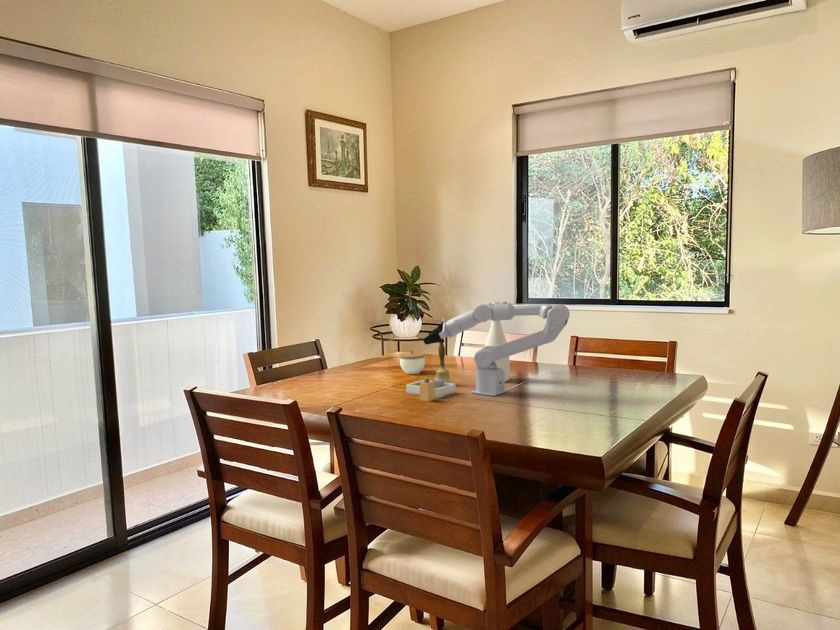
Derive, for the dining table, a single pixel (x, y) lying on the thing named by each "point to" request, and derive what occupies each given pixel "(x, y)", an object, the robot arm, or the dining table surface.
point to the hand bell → (442, 366)
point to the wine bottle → (495, 339)
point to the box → (439, 388)
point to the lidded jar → (412, 362)
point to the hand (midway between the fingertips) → (427, 338)
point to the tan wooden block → (427, 390)
